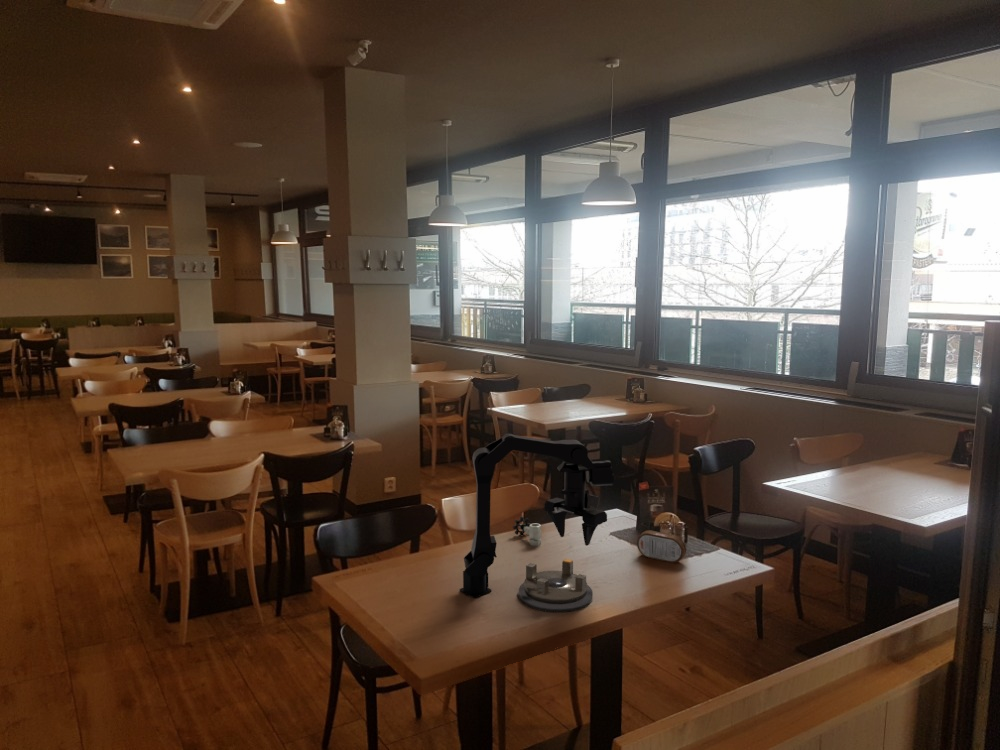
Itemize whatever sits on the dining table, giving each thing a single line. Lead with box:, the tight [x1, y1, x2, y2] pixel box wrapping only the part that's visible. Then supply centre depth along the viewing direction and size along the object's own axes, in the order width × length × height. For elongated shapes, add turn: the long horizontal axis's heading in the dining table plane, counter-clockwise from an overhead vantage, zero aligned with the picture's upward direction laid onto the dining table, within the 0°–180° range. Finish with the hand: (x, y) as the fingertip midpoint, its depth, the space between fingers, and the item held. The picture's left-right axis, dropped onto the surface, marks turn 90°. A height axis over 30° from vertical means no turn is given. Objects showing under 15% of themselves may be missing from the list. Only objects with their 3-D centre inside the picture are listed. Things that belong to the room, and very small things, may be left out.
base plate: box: [518, 582, 594, 613], centre depth 189 cm, size 20×20×2 cm
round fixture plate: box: [523, 558, 588, 604], centre depth 188 cm, size 17×17×6 cm
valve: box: [512, 516, 543, 547], centre depth 231 cm, size 7×7×12 cm
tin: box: [636, 529, 687, 564], centre depth 214 cm, size 15×3×8 cm, turn 58°
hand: (574, 540), depth 193 cm, fingers open, 9 cm apart
